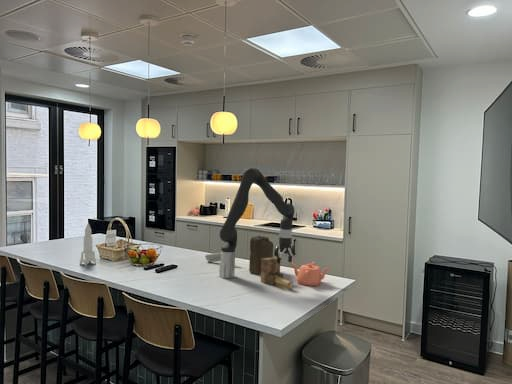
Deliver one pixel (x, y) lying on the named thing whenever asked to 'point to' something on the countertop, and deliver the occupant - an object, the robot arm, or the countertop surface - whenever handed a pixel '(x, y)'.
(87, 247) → the sculpture
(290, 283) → the rail
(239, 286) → the countertop surface
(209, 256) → the gun
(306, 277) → the pot
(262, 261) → the slotted wooden stand
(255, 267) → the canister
